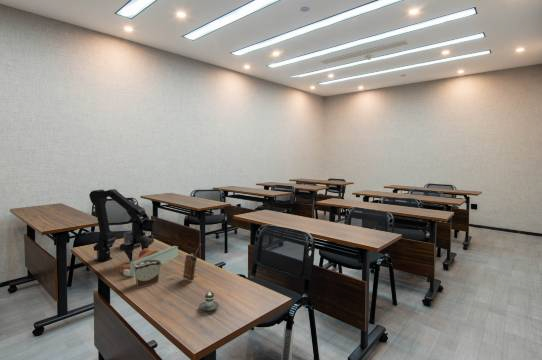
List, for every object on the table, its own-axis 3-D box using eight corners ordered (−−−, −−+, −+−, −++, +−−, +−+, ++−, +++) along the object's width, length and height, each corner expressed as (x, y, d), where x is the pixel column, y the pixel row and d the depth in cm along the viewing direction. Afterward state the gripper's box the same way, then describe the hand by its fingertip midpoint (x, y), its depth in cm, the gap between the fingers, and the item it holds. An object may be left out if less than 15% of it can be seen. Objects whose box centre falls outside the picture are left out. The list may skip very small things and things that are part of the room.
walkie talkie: (205, 279, 140) (206, 242, 139) (182, 287, 130) (182, 248, 129) (188, 272, 148) (189, 237, 147) (166, 280, 138) (166, 243, 137)
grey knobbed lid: (197, 316, 107) (197, 303, 107) (191, 301, 118) (191, 289, 117) (228, 309, 112) (228, 297, 112) (220, 296, 123) (220, 285, 123)
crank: (150, 260, 164) (150, 246, 164) (160, 263, 161) (160, 249, 160) (117, 271, 147) (117, 256, 146) (127, 274, 143) (127, 259, 143)
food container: (155, 277, 140) (156, 257, 140) (161, 281, 136) (161, 260, 135) (129, 284, 132) (129, 263, 131) (134, 288, 127) (134, 266, 127)
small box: (141, 249, 184) (141, 232, 184) (131, 251, 179) (131, 234, 178) (133, 245, 191) (133, 230, 190) (123, 247, 186) (123, 231, 185)
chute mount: (123, 274, 142) (123, 261, 142) (168, 255, 172) (168, 244, 172) (134, 277, 140) (134, 263, 139) (177, 257, 170) (177, 246, 170)
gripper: (135, 236, 147) (135, 266, 148) (161, 228, 165) (161, 255, 166) (119, 233, 151) (119, 262, 152) (146, 226, 169) (146, 252, 170)
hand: (137, 258), depth 160 cm, fingers open, 9 cm apart
